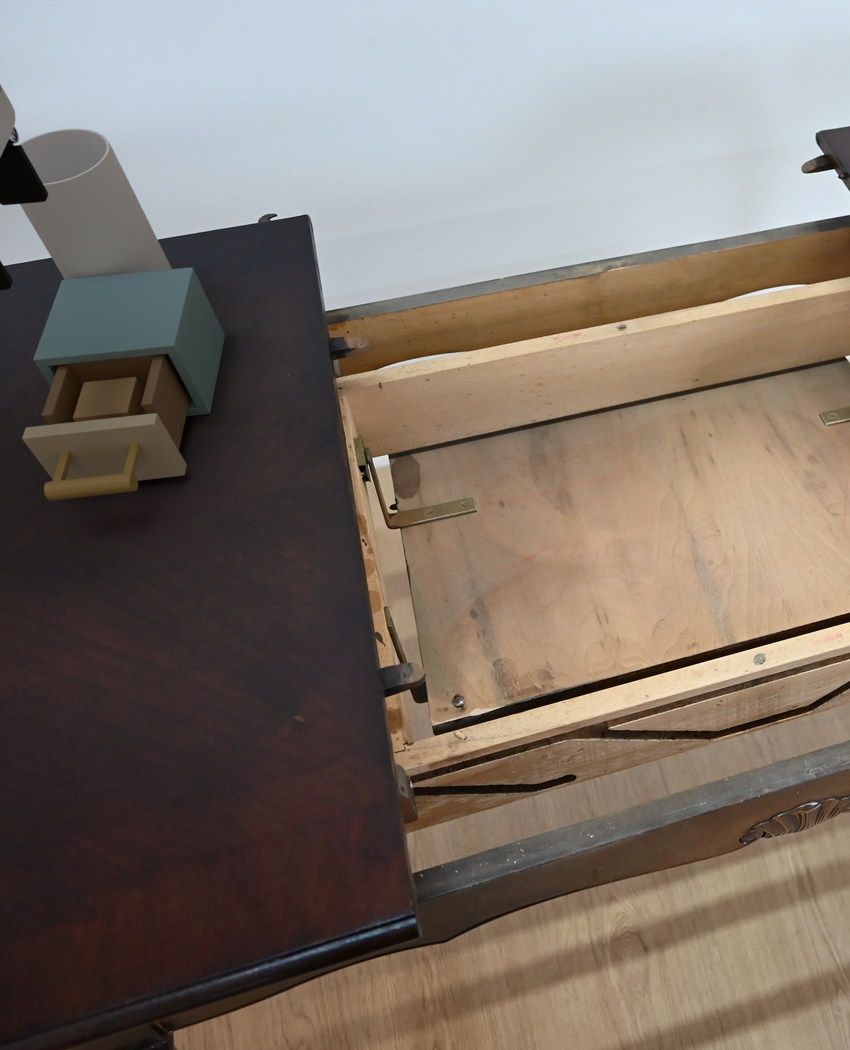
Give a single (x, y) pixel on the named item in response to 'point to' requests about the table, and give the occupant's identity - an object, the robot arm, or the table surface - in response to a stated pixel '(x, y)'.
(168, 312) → the cabinet
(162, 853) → the table surface
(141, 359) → the drawer
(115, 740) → the table surface
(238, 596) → the table surface
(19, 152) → the robot arm
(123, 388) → the block
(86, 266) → the cup
